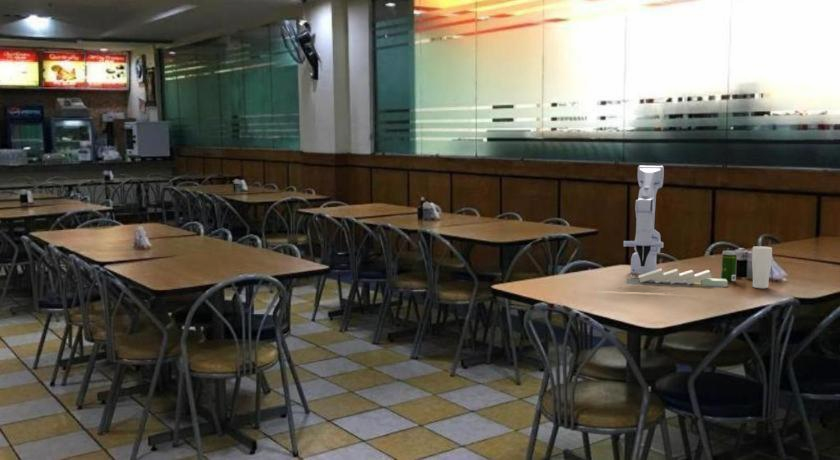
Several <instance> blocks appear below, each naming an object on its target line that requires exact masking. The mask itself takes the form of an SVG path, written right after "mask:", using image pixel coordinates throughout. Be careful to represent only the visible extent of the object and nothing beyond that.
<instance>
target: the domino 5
mask: <svg viewBox="0 0 840 460" xmlns="http://www.w3.org/2000/svg"><path fill="white" fill-rule="evenodd" d="M699 282H700V284H701V285H703V286H721V287H725V288H726V287H728V281H727V280H726V279H721V278H713V277H710V278H707V279H704V280H701V281H699Z"/></svg>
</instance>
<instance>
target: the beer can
mask: <svg viewBox="0 0 840 460" xmlns="http://www.w3.org/2000/svg"><path fill="white" fill-rule="evenodd" d="M737 261H738V254H737V251H736V250H730V249H729V250H728V249H727V250H722V253H721V268H720V270H721V271H720V272H721V273H720V279H726V280H727V281H728V282H730V283H731V282H736V281H737V280H736V279H737ZM728 282H727V283H728Z"/></svg>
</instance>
